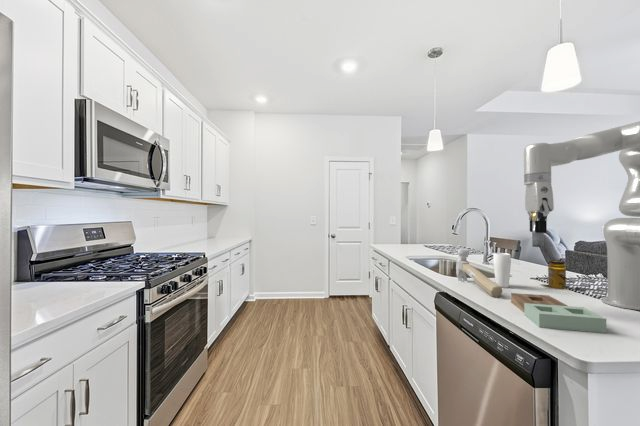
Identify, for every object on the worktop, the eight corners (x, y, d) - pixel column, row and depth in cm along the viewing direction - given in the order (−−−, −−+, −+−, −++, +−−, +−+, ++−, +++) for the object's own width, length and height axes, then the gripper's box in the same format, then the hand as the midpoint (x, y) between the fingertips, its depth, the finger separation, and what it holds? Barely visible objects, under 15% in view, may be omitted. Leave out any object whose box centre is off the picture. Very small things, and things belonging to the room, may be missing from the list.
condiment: (570, 290, 121) (569, 262, 121) (546, 288, 124) (545, 261, 124) (562, 286, 128) (562, 260, 128) (539, 284, 131) (539, 259, 131)
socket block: (548, 304, 102) (548, 295, 102) (568, 316, 90) (568, 305, 90) (511, 302, 105) (511, 293, 105) (525, 313, 93) (525, 302, 93)
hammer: (505, 274, 109) (466, 247, 138) (493, 274, 109) (456, 247, 138) (500, 310, 113) (462, 277, 142) (488, 310, 113) (453, 277, 142)
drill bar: (541, 246, 98) (540, 212, 98) (545, 247, 95) (545, 212, 95) (530, 246, 99) (530, 212, 99) (534, 247, 96) (534, 212, 96)
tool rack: (583, 319, 87) (583, 307, 87) (606, 333, 78) (606, 318, 78) (524, 315, 92) (524, 303, 92) (539, 327, 82) (539, 313, 82)
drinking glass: (495, 287, 126) (494, 254, 126) (492, 284, 132) (491, 252, 132) (512, 289, 123) (512, 255, 123) (509, 285, 130) (508, 253, 130)
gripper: (563, 176, 88) (564, 234, 88) (538, 181, 104) (539, 230, 104) (535, 177, 90) (536, 233, 90) (515, 182, 106) (516, 230, 106)
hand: (537, 231), depth 97 cm, fingers closed on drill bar, 3 cm apart
